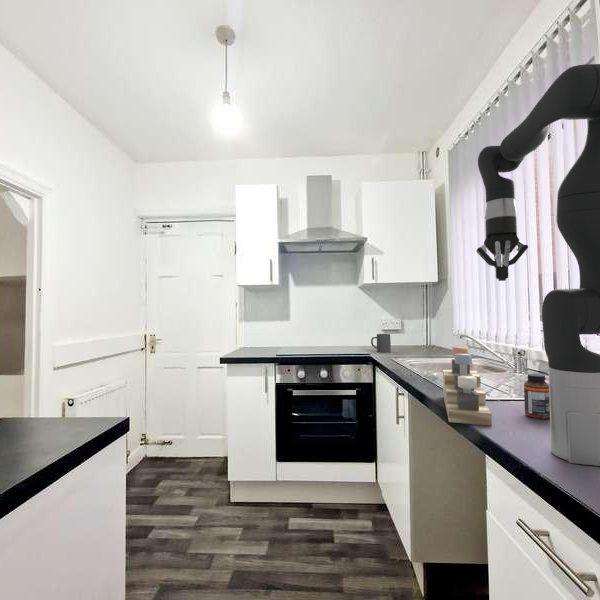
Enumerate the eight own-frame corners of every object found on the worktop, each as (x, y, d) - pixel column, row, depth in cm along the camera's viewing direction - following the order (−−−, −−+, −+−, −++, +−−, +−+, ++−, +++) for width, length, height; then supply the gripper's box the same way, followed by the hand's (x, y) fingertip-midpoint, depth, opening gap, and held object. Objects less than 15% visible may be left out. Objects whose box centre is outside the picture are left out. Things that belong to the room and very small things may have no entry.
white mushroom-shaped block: (478, 405, 94) (477, 379, 95) (459, 403, 96) (458, 378, 96) (475, 400, 99) (475, 376, 99) (457, 399, 100) (456, 375, 100)
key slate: (473, 379, 103) (472, 355, 103) (455, 378, 105) (455, 355, 105) (471, 376, 107) (470, 353, 108) (454, 375, 109) (454, 353, 109)
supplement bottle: (526, 412, 103) (525, 371, 103) (552, 415, 99) (550, 374, 99) (523, 417, 98) (521, 374, 98) (549, 421, 94) (548, 377, 95)
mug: (387, 351, 252) (386, 333, 253) (393, 352, 243) (392, 334, 244) (368, 351, 250) (368, 334, 250) (374, 353, 241) (373, 335, 241)
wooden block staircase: (491, 425, 91) (490, 373, 92) (448, 422, 95) (447, 371, 95) (476, 399, 118) (475, 358, 118) (443, 396, 121) (442, 357, 121)
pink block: (469, 370, 112) (468, 348, 112) (453, 369, 114) (452, 348, 114) (467, 367, 116) (467, 346, 117) (452, 367, 118) (451, 346, 118)
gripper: (476, 217, 99) (477, 280, 99) (531, 212, 95) (533, 278, 94) (472, 223, 106) (474, 282, 106) (524, 219, 102) (526, 280, 102)
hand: (502, 280), depth 100 cm, fingers closed
